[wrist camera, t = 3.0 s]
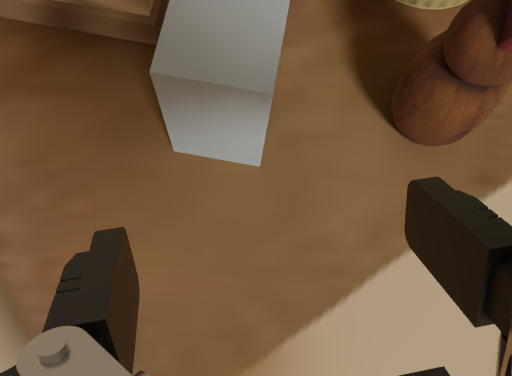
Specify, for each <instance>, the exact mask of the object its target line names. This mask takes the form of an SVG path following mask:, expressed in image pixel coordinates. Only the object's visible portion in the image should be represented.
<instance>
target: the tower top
mask: <svg viewBox="0 0 512 376" xmlns="http://www.w3.org/2000/svg"><path fill="white" fill-rule="evenodd" d="M54 1H60V2H67V3H73V4H79V5H85V6H91V7H98V8H104V9H110V10H116V11H122V12H129V13H135V14H141V15H147V16H150V13H151V9H152V5H153V2H154V0H54Z"/></svg>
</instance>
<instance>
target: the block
mask: <svg viewBox="0 0 512 376" xmlns="http://www.w3.org/2000/svg"><path fill="white" fill-rule="evenodd" d="M289 3H290V0H169V4H168V7H167V11H166V15H165V18H164V22H163V25H162V29H161V32H160V36H159V39H158V43H157V47H156V50H155V54H154V57H153V61H152V64H151V68H150V71H149V72H150V75H151V79H152V82H153V85H154V88H155V92H156V95H157V98H158V101H159V105H160V108H161V111H162V115H163V118H164V121H165V124H166V128H167V131H168V134H169V138H170V141H171V144H172V147H173V151H176V152H182V153H187V154H193V155H198V156H204V157H209V158H215V159H220V160H226V161H231V162H237V163H242V164H248V165H253V166H259V167H260V163H261V157H262V152H263V146H264V141H265V135H266V130H267V124H268V119H269V113H270V108H271V102H272V97H273V91H274V86H275V80H276V75H277V69H278V64H279V58H280V53H281V47H282V42H283V36H284V30H285V25H286V19H287V14H288V8H289Z"/></svg>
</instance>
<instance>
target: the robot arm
mask: <svg viewBox="0 0 512 376" xmlns="http://www.w3.org/2000/svg"><path fill="white" fill-rule="evenodd" d="M405 236H406V240H407V242H408V245H409V247H410V248H411V249H412V251H413V252H414V253H415V254H416V256H417V257H418V258H419V259H420V260H421V262H422V263H423V264H424V265H425V266H426V268H427V269H428V270H429V271H430V273H431V274H432V275H433V276H434V278H435V279H436V280H437V281H438V283H439V284H440V285H441V286H442V287H443V289H444V290H445V291H446V292H447V294H448V295H449V296H450V297H451V298H452V300H453V301H454V302H455V303H456V305H457V306H458V307H459V308H460V310H461V311H462V312H463V313H464V314H465V316H466V317H467V318H468V319H469V321H470V322H471V323H472V324H473V325H474V327H480V326H486V325H490V324H495V325H496V326H497V327H498V328H499V330H500V331H501V332H500V336H499V343H498V354H497V367H496V376H512V226H511V225H509V224H508V223H507V222H506V221H504V220H503V219H502V218H501V217H500V218H498V215H497V214H496V213H494V212H493V211H492V210H490V209H489V210H488V207H487V206H486V205H484V204H483V203H482V202H481V201H479V200H478V199H477V198H476V197H473V196H471V195H468V194H466V193H464V192H461V191H459V190H457V191H455V190H454V189H453V188H452V187H451V186H449V185H448V184H447V183H446V182H445V181H443V180H442V179H441V178H439V177H431V178H424V179H418V180H412V181H410V183H409V185H408V189H407V202H406V215H405ZM138 307H139V281H138V275H137V271H136V267H135V263H134V260H133V256H132V252H131V248H130V244H129V240H128V236H127V233H126V230H125V228H124V227H120V228H113V229H107V230H101V231H95V232H94V235H93V239H92V243H91V246H90V250H89V251H87V252H81V253H76V254H75V256H74V257H73V258H72V259H71V260H70V261H69V262H68V263H67V264H66V265H65V266H64V269H63V272H62V275H61V278H60V283H59V284H58V287H57V290H56V295H55V296H54V299H53V302H52V305H51V308H50V311H49V314H48V317H47V320H46V323H45V326H44V329H43V332H42V334H40V335H38V336H37V337H35V338H34V339H32V340H31V341H30V342H29V343H28V344H27V345H26V346H25V347H24V348H23V350H22V351H21V353H20V354H19V356H18V359H17V364H16V365H15V366H13V367H12V368H10V369H8V370H6V371H4V372H2V373H0V376H133V375H132V374H133V363H134V352H135V340H136V329H137V318H138ZM134 376H150V375H149V374H147V373H146V372H144V371H139V372H138V373H137V374H135V375H134ZM400 376H450V375H449V374H448V372H447V370H446V369H445V367H439V368H434V369H429V370H424V371H419V372H414V373H410V374H404V375H400Z"/></svg>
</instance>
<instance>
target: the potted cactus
mask: <svg viewBox="0 0 512 376" xmlns="http://www.w3.org/2000/svg"><path fill="white" fill-rule="evenodd" d="M396 1H398V2H400V3H402V4H405V5H408V6H412V7H416V8H421V9H445V8H451V7H454V6H457V5H460V4H462V3H464V2H466V1H468V0H396Z"/></svg>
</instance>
